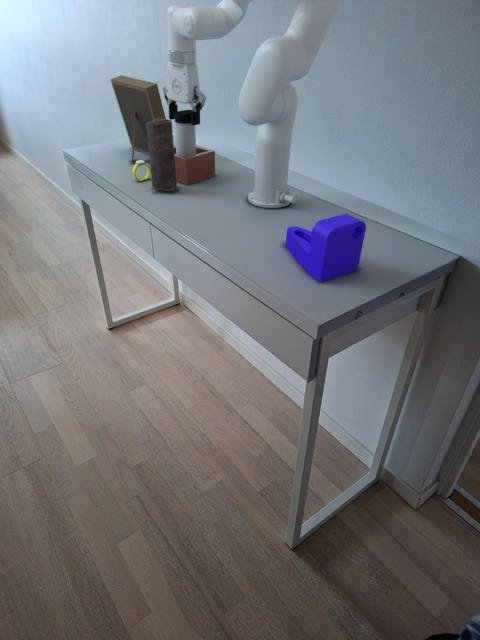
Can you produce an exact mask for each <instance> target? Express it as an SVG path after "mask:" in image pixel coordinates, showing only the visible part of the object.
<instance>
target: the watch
mask: <svg viewBox="0 0 480 640" xmlns="http://www.w3.org/2000/svg"><path fill="white" fill-rule="evenodd" d="M143 165H145V167H146V170H147V171H146V172H147V173H146V175H145V176H144V177H142V178H138V177H137V175H136V172H137V169H138V167H139V166H143ZM131 172H132V173H131V174H132V177H133V179H134V180H136V181H137V182H143V181H146V180H148V179H149V178H150V177H151V168H150V164H149V163H147V162H145V160H143V159H139V160H136V161H135V164H134V165H133V166H132V169H131Z"/></svg>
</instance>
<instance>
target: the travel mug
mask: <svg viewBox="0 0 480 640" xmlns="http://www.w3.org/2000/svg"><path fill="white" fill-rule="evenodd" d="M191 111H193V110H192V109H183V110H178V112H176V113H175V114H174V115H175V119H174V134H175V136H174V137H175V138H174V139H175V146H176V154H177V155H180V156H184V157H189V156H193V155H196V146H197V142H196V125H194V126H193V125H192V124H191Z"/></svg>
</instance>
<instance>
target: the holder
mask: <svg viewBox="0 0 480 640" xmlns="http://www.w3.org/2000/svg"><path fill="white" fill-rule="evenodd" d="M174 158H175V170H176V182H177V183H181V184H183V185H186V186H188V185H192V184H195V183H197V182H201V181H203V180H206V179H209V178H212V177H215V176H216V150H213V149H210V148H206V147H202V146H199V145H196V155H193V156H189V157H184V156H180V155H177V154H176V145H175V146H174Z"/></svg>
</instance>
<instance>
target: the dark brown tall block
mask: <svg viewBox="0 0 480 640" xmlns="http://www.w3.org/2000/svg"><path fill="white" fill-rule="evenodd" d="M172 121H173V120H170V119H169V118H166V119H159V118H158V119H155V120H154V121H150V122H146V127H147V137H148V146H149V155H148V158H149V166H150V170H151V172H150V177H151V178H150V179H151V187H152V188H153V189H154V190H157V191H163V192H164V191H165V192H176V191H177V190H178V184H177V183H178V182H177V181H176V170H175V158H174V145H175V144H174V132H173V122H172Z"/></svg>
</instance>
